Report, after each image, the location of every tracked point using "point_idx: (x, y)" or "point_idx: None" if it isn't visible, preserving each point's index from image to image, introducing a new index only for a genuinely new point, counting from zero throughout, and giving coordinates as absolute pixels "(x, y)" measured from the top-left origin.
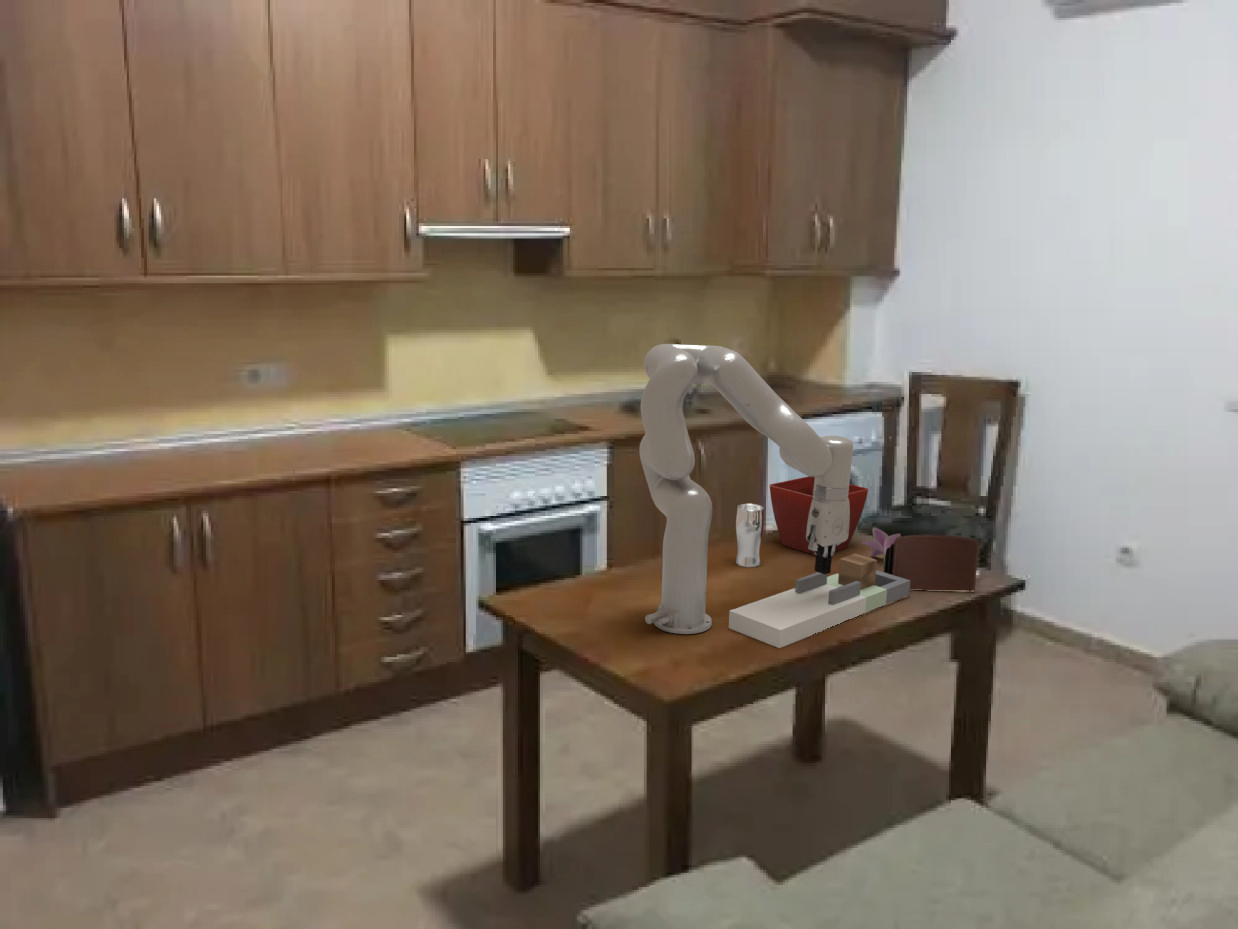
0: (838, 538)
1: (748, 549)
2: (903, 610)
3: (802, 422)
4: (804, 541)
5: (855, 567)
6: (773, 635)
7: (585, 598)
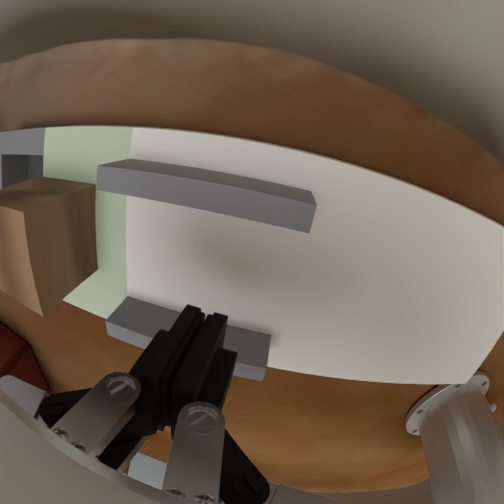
0: (38, 489)
1: None
2: (81, 77)
3: None
4: (29, 374)
5: (39, 236)
6: None
7: (388, 474)
